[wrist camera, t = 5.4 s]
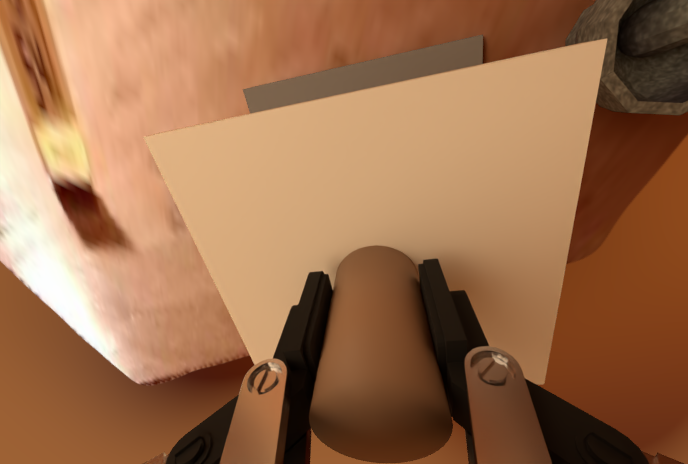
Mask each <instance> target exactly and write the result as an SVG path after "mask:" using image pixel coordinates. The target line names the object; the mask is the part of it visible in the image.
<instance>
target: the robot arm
mask: <svg viewBox="0 0 688 464" xmlns="http://www.w3.org/2000/svg"><path fill="white" fill-rule="evenodd" d="M418 270H419V281H420V286H421V291H422V295H423V300H424V304H425V308H426V313H427V317H428V322H429V326H430V330H431V335H432V339H433V344H434V348H435V353H436V357H437V361H438V366H439V369H440V372H441V375H442V379H443V383H444V388H445V392H446V396H447V401H448V405H449V409H450V414H451V417H453V420H454V421H456V422H457V423H458V424H459V425H461V426H462V427H463V428H464V429H465V435H466V443H467V453H468V461H469V464H684V463H681V462H679V461H676V460H674V459H672V458H669V457H667V456H664V455H662V454H659V453H657V454H656V456H652V455H650V454H648V453H645V452H643V451H641V450H640V449H639V448H638V447H637V446H636V445H635V444H634V443H633V442H632V441H631V440H630V439H629V438H628V437H626V436H625V435H623V434H622V433H620V432H619V431H617V430H616V429H614V428H612V427H611V426H609V425H607V424H605V423H603V422H602V421H600V420H598V419H596V418H595V417H593V416H591V415H589V414H588V413H586V412H584V411H582V410H580V409H579V408H577V407H575V406H573V405H572V404H570V403H568V402H566V401H564V400H563V399H561V398H559V397H557V396H556V395H554V394H552V393H550V392H548V391H547V390H545V389H543V388H541V387H540V386H538V385H536V384H534V383H533V382H531V381H529V380H527V379H525V378H524V375H523V372H522V369H521V367H520V365H519V363H518V362H517V361H516V360H515V359H514V357H513V356H511V355H510V354H508V353H507V352H505V351H503V350H501V349H498V348H496V347H490V346H489V344H488V342H487V339H486V337H485V335H484V332H483V330H482V328H481V326H480V323H479V321H478V319H477V316H476V314H475V312H474V309H473V307H472V305H471V303H470V300H469V298H468V296H467V293H466V292H465V290H458V291H449V288H448V286H447V283H446V280H445V277H444V274H443V272H442V269H441V266H440V263H439V260H438V259H437V258H436V259H426V260H423V264H418ZM332 293H333V290H332V286H331V282H330V278H329V275H328V274H324V272H323V271H316V272H309V274H308V277H307V280H306V283H305V286H304V289H303V292H302V295H301V298H300V301H299V304H298V305H293V306H292V307H291V309H290V312H289V314H288V317H287V320H286V323H285V325H284V328H283V331H282V334H281V337H280V339H279V342H278V345H277V348H276V350H275V353H274V356H273V359H266V360H263V361H261V362H259V363H257V364H256V365H255V366H253V367H252V368H251V369H250V370H249V371H248V373H247V374H246V376H245V378H244V380H243V383H242V386H241V390H240V393H239V395H238V396H237V397H235V398H234V399H232V400H231V401H230V402H228V403H227V404H226V405H224V406H223V407H222V408H220V409H219V410H218V411H216V412H215V413H214V414H212V415H211V416H210V417H208V418H207V419H206V420H204V421H203V422H202V423H200V424H199V425H198V426H197V427H195V428H194V429H192V430H191V431H190V432H188V433H187V434H186V435H185V436H183V438H181V439H180V440H179V441H178V442H177V444H176V445H175V446H174V447H173V449H172V450H171V452H170V454H168V455H166V454H165V453H162V454H160V455H158V456H156V457H154V458H153V459H151V460H149V461H147V462H145V463H144V464H310V453H311V426H310V423H309V413H310V407H311V402H312V397H313V392H314V386H315V381H316V376H317V371H318V366H319V360H320V355H321V350H322V345H323V340H324V334H325V329H326V324H327V319H328V313H329V308H330V303H331V298H332Z"/></svg>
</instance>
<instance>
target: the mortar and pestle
mask: <svg viewBox="0 0 688 464" xmlns="http://www.w3.org/2000/svg"><path fill="white" fill-rule="evenodd" d="M607 38H608V39H607ZM601 39H607V44H606V49H605V55H604V60H603V66H602V71H601V77H600V82H599V88H598V93H597V98H596V102H597V104H598V105H599V106H600V107H603V108H606V109H608V110H611V111H615V112H626V113H644V114H665V115H682V114H684V113H686V112H688V0H596V2H595V3H594V4H593V5H592V6H590V7H589V8H587V9H586V10H584V11H583V13H582V14H581V16H580V17H579V19H578V21H577V22H576V24H575V26H574V27H573V29H572V30H571V32H570V34H569V35H568V37H567V39H566V46H569V45H574V44H579V43H584V42H590V41H595V40H601Z"/></svg>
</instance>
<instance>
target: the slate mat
mask: <svg viewBox="0 0 688 464" xmlns="http://www.w3.org/2000/svg"><path fill="white" fill-rule="evenodd" d="M480 64H483V35H479V36H475V37H470V38H466V39H462V40H457V41H453V42H448V43H444V44H440V45H435V46H431V47H427V48H422V49H418V50H413V51H409V52H405V53H400V54H396V55H392V56H387V57H383V58H378V59H374V60H370V61H365V62H361V63H357V64H352V65H348V66H343V67H339V68H335V69H330V70H326V71H322V72H317V73H313V74H308V75H304V76H300V77H295V78H291V79H287V80H282V81H278V82H273V83H269V84H265V85H260V86H256V87H252V88H247V89H243V92H244V95H245V98H246V101H247V104H248V108H249V111H250V113H255V112H260V111H264V110H269V109H274V108H279V107H283V106H288V105H293V104H297V103H302V102H307V101H311V100H316V99H321V98H325V97H330V96H335V95H340V94H344V93H349V92H354V91H358V90H363V89H368V88H372V87H377V86H382V85H386V84H391V83H396V82H401V81H405V80H410V79H415V78H419V77H424V76H429V75H433V74H438V73H443V72H447V71H452V70H457V69H461V68H466V67H471V66H476V65H480Z"/></svg>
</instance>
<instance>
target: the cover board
mask: <svg viewBox="0 0 688 464" xmlns="http://www.w3.org/2000/svg"><path fill="white" fill-rule="evenodd" d="M607 39H608V38H607ZM607 39H601V40H595V41H590V42H584V43H579V44H574V45H569V46H565V47H560V48H555V49H551V50H546V51H541V52H537V53H532V54H527V55H522V56H518V57H513V58H508V59H504V60H499V61H494V62H490V63H485V64H480V65H476V66H471V67H466V68H461V69H457V70H452V71H447V72H443V73H438V74H433V75H429V76H424V77H419V78H415V79H410V80H405V81H401V82H396V83H391V84H386V85H382V86H377V87H372V88H368V89H363V90H358V91H354V92H349V93H344V94H340V95H335V96H330V97H325V98H321V99H316V100H311V101H307V102H302V103H297V104H293V105H288V106H283V107H279V108H274V109H269V110H264V111H260V112H255V113H250V114H246V115H241V116H236V117H232V118H227V119H222V120H218V121H213V122H208V123H204V124H199V125H194V126H189V127H185V128H180V129H175V130H171V131H166V132H162V133H158V134H154V135H150V136H146V137H143V138H144V140H145V142H146V144H147V146H148V148H149V150H150V152H151V154H152V156H153V158H154V160H155V162H156V164H157V166H158V168H159V170H160V172H161V174H162V176H163V178H164V180H165V183H166V185H167V187H168V189H169V191H170V193H171V195H172V197H173V199H174V201H175V203H176V205H177V207H178V209H179V211H180V213H181V215H182V217H183V219H184V221H185V223H186V225H187V228H188V230H189V232H190V234H191V236H192V238H193V240H194V242H195V244H196V246H197V248H198V250H199V252H200V254H201V256H202V258H203V260H204V262H205V264H206V266H207V268H208V270H209V272H210V275H211V277H212V279H213V281H214V283H215V285H216V287H217V289H218V291H219V293H220V295H221V297H222V299H223V301H224V303H225V305H226V307H227V309H228V311H229V313H230V315H231V317H232V320H233V322H234V324H235V326H236V328H237V330H238V332H239V334H240V336H241V338H242V340H243V342H244V344H245V346H246V348H247V350H248V352H249V354H250V356H251V358H252V360H253V362H254V364H255V365H256V364H257V363H259V362H261V361H263V360H266V359H273V356H274V353H275V350H276V348H277V345H278V342H279V339H280V337H281V334H282V331H283V328H284V325H285V323H286V320H287V317H288V314H289V312H290V309H291V307H292V306H293V305H298V304H299V301H300V298H301V295H302V292H303V289H304V286H305V283H306V280H307V277H308V274H309V272H316V271H323V272H324V274H328V275H329V278H330V282H331V286H332V290H333V293H332V298H331V303H330V308H329V313H328V319H327V324H326V329H325V334H324V340H323V345H322V350H321V355H320V360H319V366H318V371H317V376H316V381H315V386H314V392H313V397H312V402H311V407H310V413H309V423H310V426H311V428H312V430H313V432H314V433H315V435H316V436H317V437H318V438H319V439H320V440H321V441H322V442H323V443H324V444H325V445H327V446H328V447H330V448H331V449H333V450H335V451H337V452H339V453H341V454H343V455H346V456H348V457H352V458H355V459H359V460H363V461H369V462H376V463H401V462H408V461H413V460H417V459H420V458H423V457H426V456H428V455H431V454H433V453H434V452H436V451H438V450H439V449H440V448H441V447H443V446H444V445H445V443H446V442H447V441H448V440H449V438H450V436H451V433H452V428H453V424H452V418H451V414H450V409H449V405H448V401H447V396H446V392H445V388H444V383H443V379H442V375H441V372H440V369H439V366H438V361H437V357H436V353H435V348H434V344H433V339H432V335H431V330H430V326H429V322H428V317H427V313H426V308H425V304H424V300H423V295H422V291H421V286H420V281H419V270H418V264H423V260H426V259H436V258H437V259H438V260H439V263H440V266H441V269H442V272H443V274H444V277H445V280H446V283H447V286H448V288H449V291H458V290H465V292H466V293H467V296H468V298H469V300H470V303H471V305H472V307H473V309H474V312H475V314H476V316H477V319H478V321H479V323H480V326H481V328H482V330H483V332H484V335H485V337H486V339H487V342H488V344H489V346H490V347H496V348H498V349H501V350H503V351H505V352H507V353H508V354H510V355H511V356H513V357H514V359H515V360H516V361H517V362H518V363H519V365H520V367H521V369H522V372H523V375H524V378H525V379H527V380H529V381H531V382H533V383H534V384H544V382H545V376H546V371H547V366H548V360H549V355H550V349H551V344H552V338H553V332H554V327H555V322H556V317H557V311H558V306H559V300H560V295H561V289H562V284H563V278H564V273H565V267H566V262H567V257H568V251H569V246H570V240H571V235H572V229H573V224H574V218H575V213H576V208H577V202H578V197H579V191H580V186H581V180H582V175H583V169H584V164H585V158H586V153H587V148H588V142H589V137H590V131H591V126H592V120H593V115H594V109H595V104H596V98H597V93H598V88H599V82H600V77H601V71H602V66H603V60H604V55H605V49H606V44H607Z"/></svg>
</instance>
